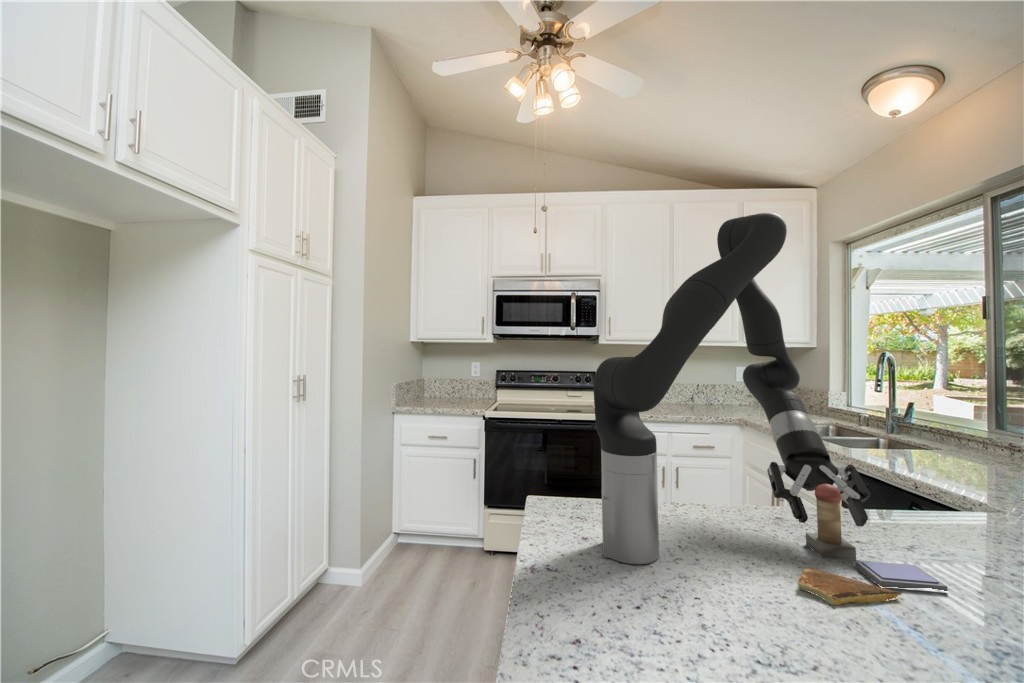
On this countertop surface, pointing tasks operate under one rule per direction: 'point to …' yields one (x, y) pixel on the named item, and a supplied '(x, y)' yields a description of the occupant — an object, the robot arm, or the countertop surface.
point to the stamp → (829, 526)
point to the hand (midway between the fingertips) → (832, 522)
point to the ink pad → (898, 575)
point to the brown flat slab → (842, 588)
